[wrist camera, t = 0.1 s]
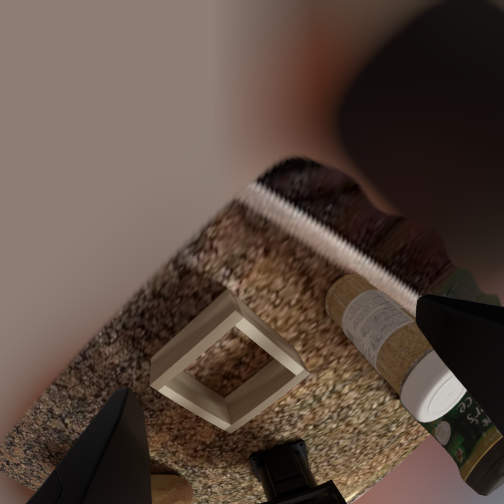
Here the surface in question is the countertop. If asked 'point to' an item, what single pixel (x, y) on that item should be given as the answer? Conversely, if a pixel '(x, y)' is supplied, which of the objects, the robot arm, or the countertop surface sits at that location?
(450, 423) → the coffee jar
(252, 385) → the guard collar
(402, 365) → the sprinkles bottle
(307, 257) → the countertop surface
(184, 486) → the bread roll
